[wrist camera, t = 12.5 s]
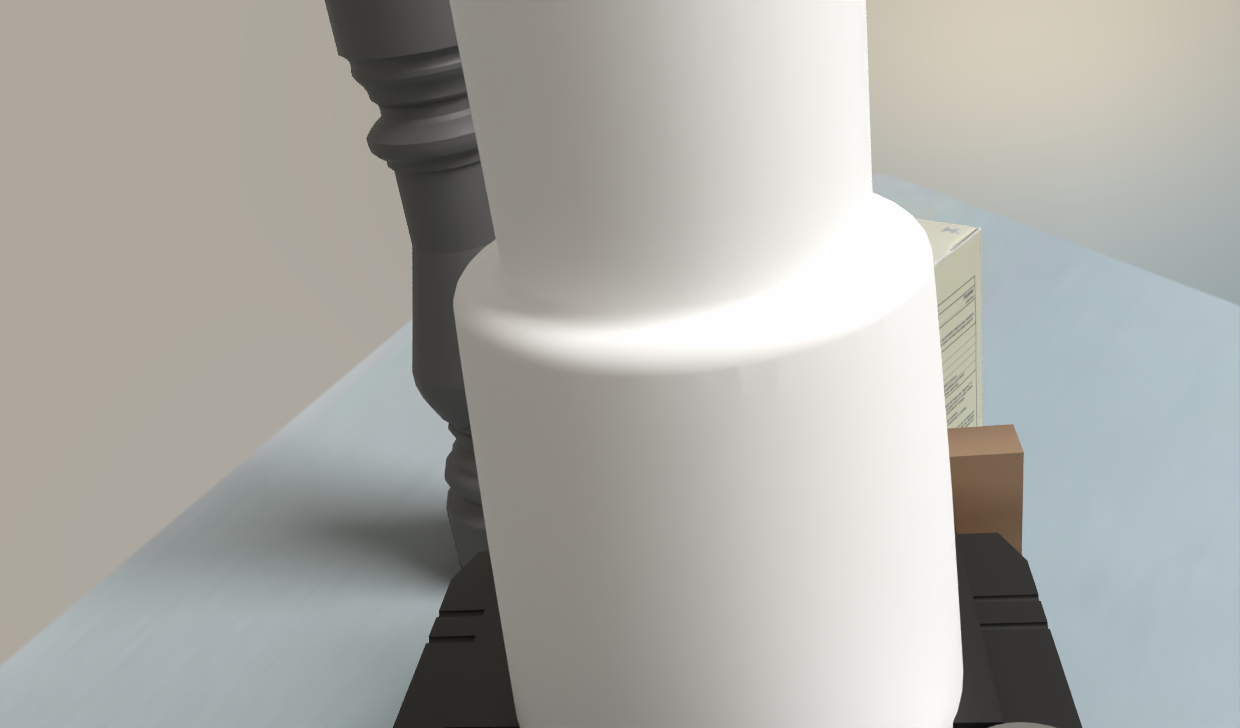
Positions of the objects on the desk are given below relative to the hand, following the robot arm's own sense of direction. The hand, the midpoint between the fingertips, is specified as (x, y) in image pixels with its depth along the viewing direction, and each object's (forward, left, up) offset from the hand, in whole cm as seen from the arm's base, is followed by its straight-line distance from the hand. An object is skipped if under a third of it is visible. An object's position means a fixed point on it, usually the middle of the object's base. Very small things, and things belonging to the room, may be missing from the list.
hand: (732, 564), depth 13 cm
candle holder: (+18, +24, -20) cm, 36 cm away
